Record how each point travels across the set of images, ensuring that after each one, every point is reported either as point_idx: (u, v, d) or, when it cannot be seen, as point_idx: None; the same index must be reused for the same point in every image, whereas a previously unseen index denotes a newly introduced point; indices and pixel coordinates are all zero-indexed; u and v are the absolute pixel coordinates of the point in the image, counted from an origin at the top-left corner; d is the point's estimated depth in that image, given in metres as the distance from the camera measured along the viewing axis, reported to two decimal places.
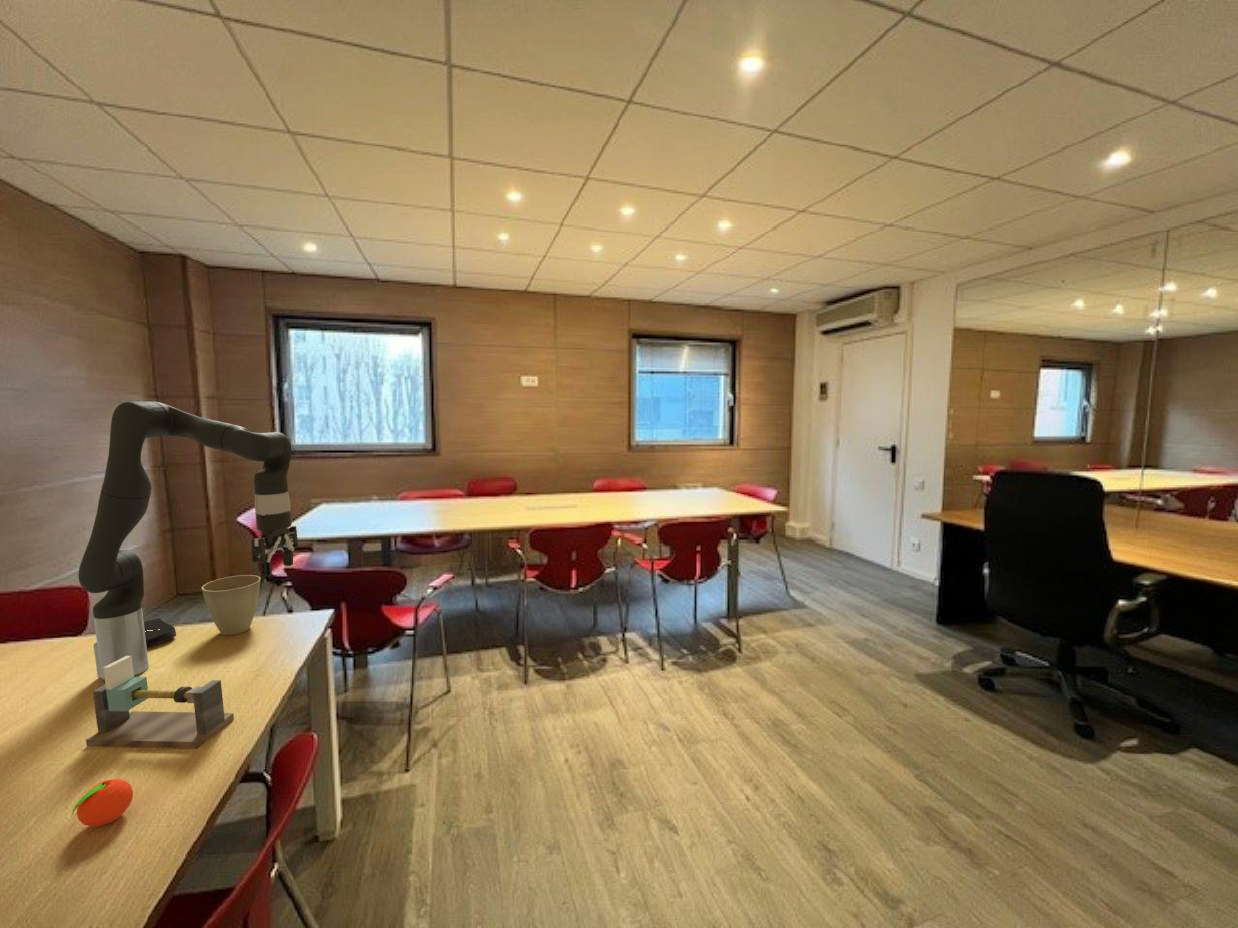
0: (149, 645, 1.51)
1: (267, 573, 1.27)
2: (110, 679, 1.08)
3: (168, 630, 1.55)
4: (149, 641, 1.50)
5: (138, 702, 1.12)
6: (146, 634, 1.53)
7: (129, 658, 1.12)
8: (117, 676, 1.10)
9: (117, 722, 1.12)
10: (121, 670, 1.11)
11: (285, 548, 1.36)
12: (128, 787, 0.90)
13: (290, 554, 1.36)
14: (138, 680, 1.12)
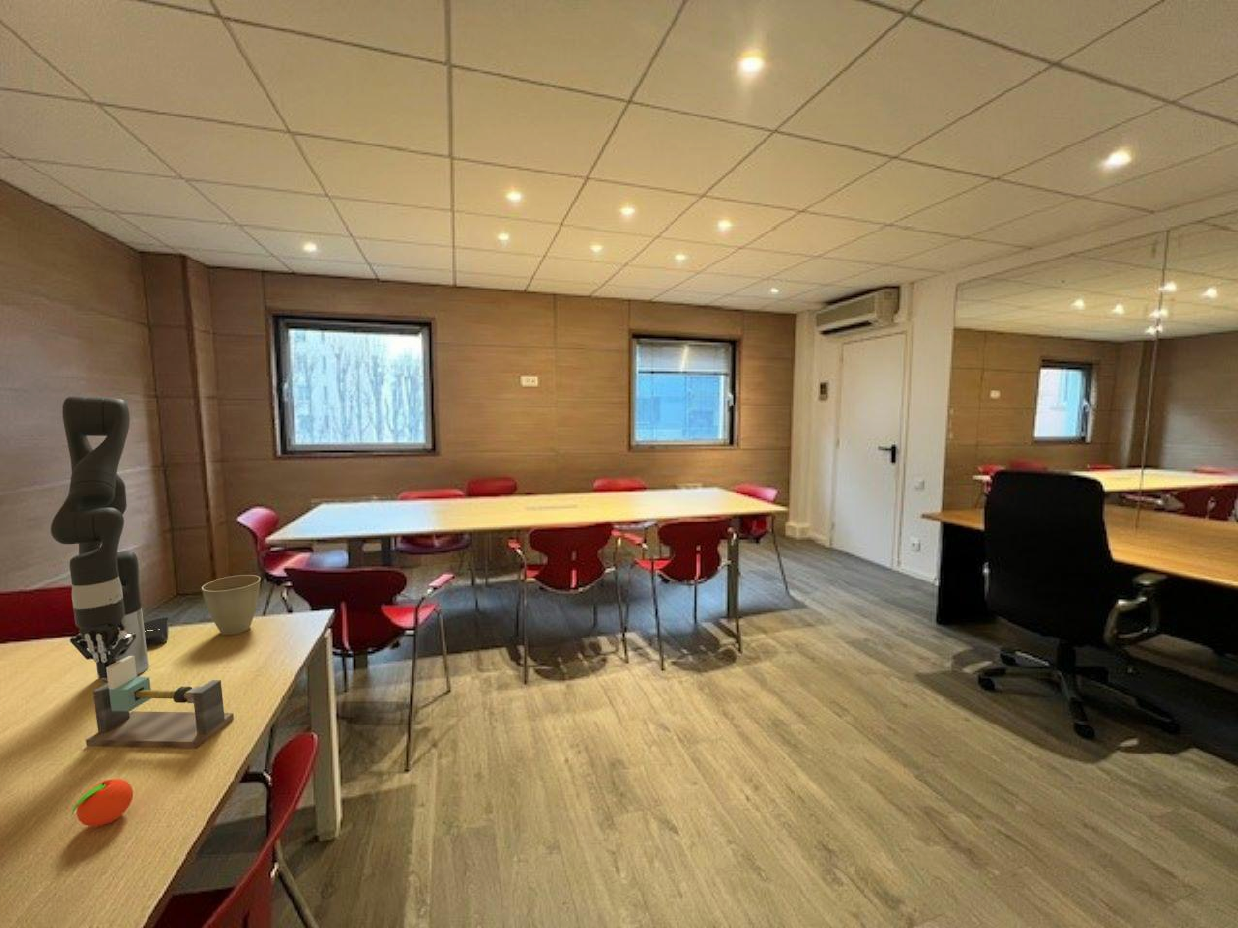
0: None
1: None
2: (113, 679, 1.08)
3: (158, 633, 1.53)
4: None
5: (141, 702, 1.12)
6: None
7: (131, 658, 1.12)
8: (120, 676, 1.10)
9: (117, 722, 1.12)
10: (124, 670, 1.11)
11: (100, 655, 1.10)
12: (128, 787, 0.90)
13: None
14: (141, 680, 1.12)
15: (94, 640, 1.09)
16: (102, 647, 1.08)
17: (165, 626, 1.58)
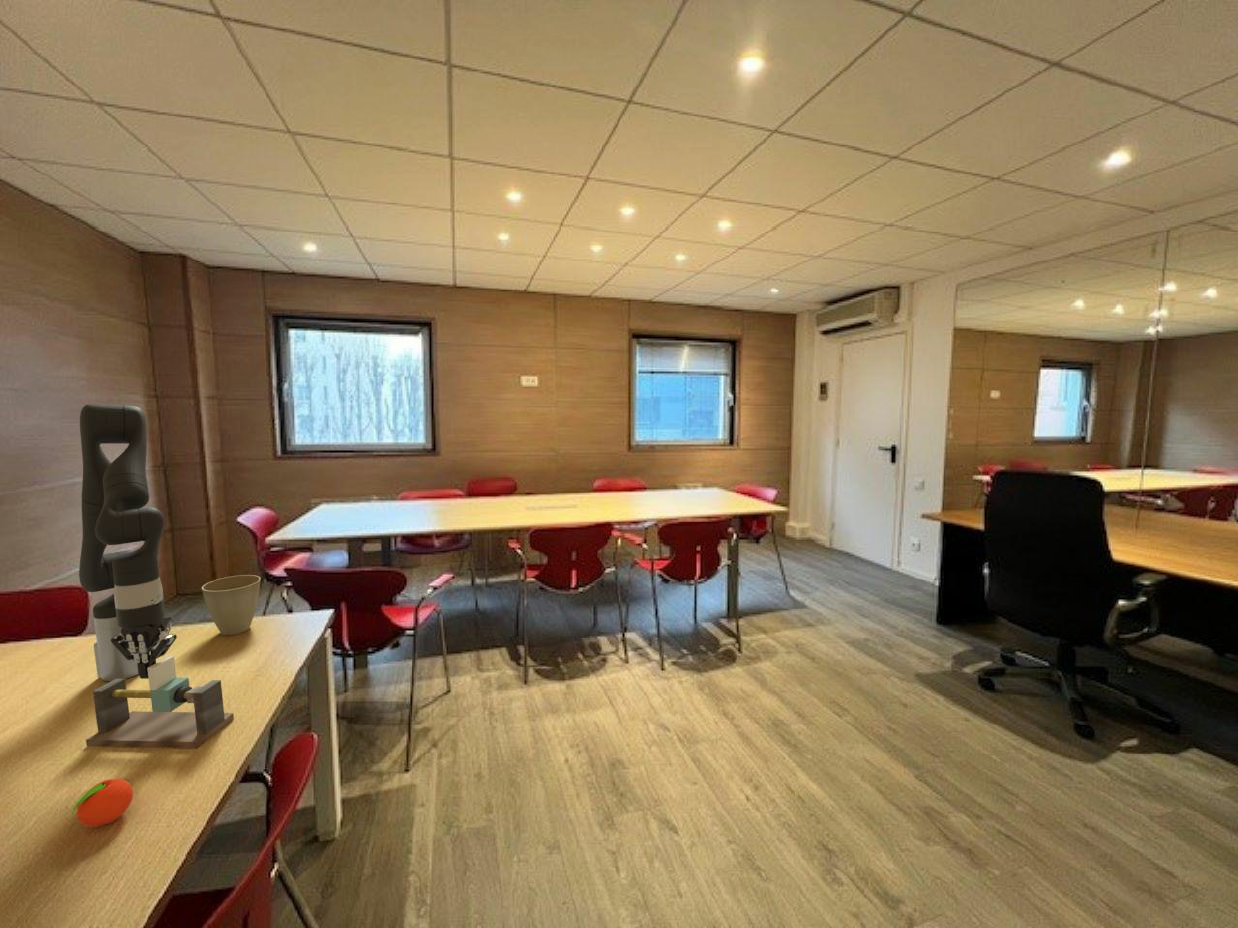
0: None
1: None
2: (154, 680, 1.08)
3: None
4: None
5: (181, 703, 1.11)
6: None
7: (171, 659, 1.12)
8: (160, 677, 1.10)
9: (117, 722, 1.12)
10: (164, 670, 1.11)
11: (140, 656, 1.10)
12: (128, 787, 0.90)
13: None
14: (181, 681, 1.12)
15: (135, 640, 1.08)
16: (143, 648, 1.08)
17: None
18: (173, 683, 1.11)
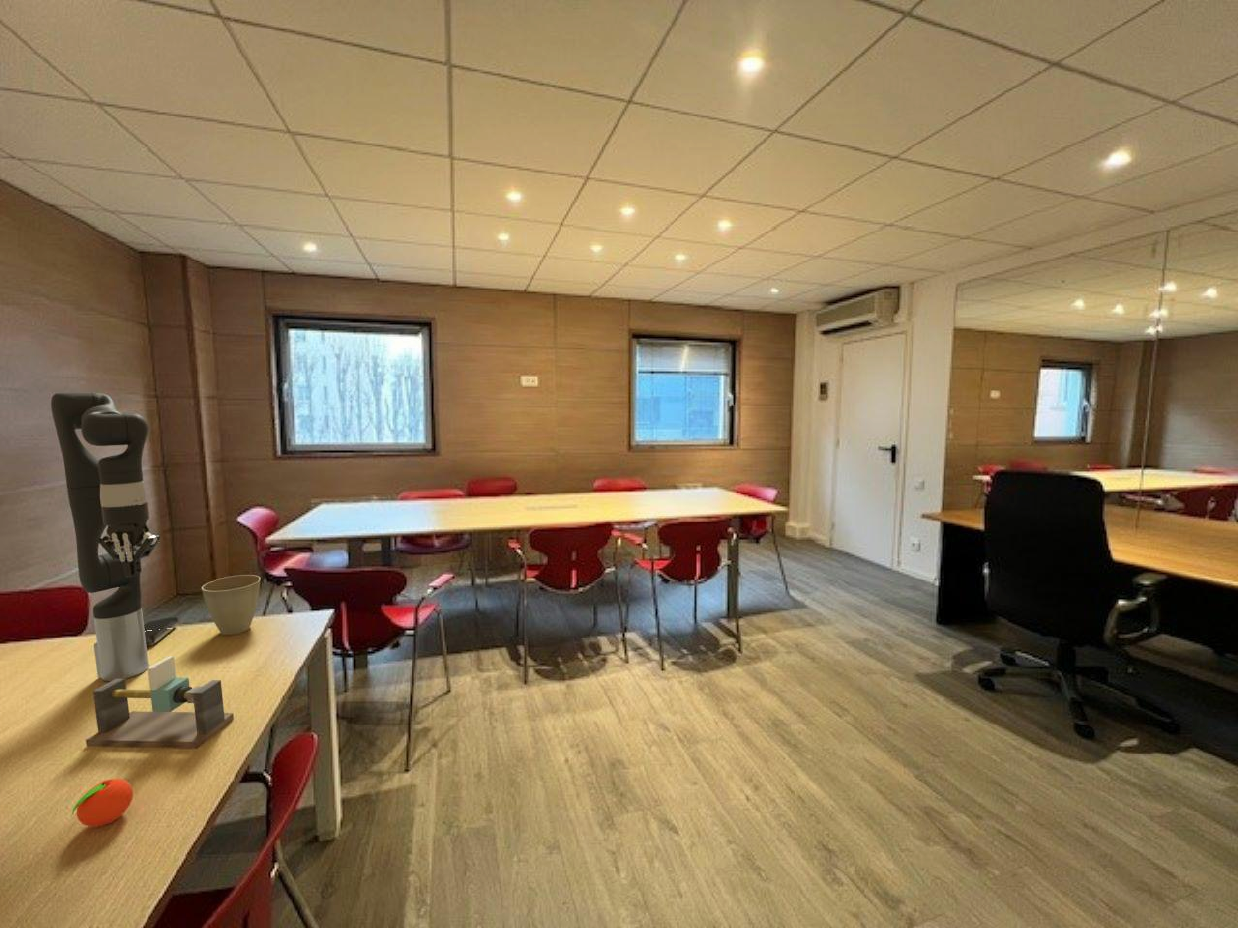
0: None
1: None
2: (154, 680, 1.08)
3: (145, 636, 1.51)
4: None
5: (181, 703, 1.11)
6: None
7: (171, 659, 1.12)
8: (160, 677, 1.10)
9: (117, 722, 1.12)
10: (164, 670, 1.11)
11: (125, 555, 1.16)
12: (128, 787, 0.90)
13: None
14: (181, 681, 1.12)
15: (120, 540, 1.14)
16: (128, 546, 1.14)
17: (160, 628, 1.56)
18: (173, 683, 1.11)
